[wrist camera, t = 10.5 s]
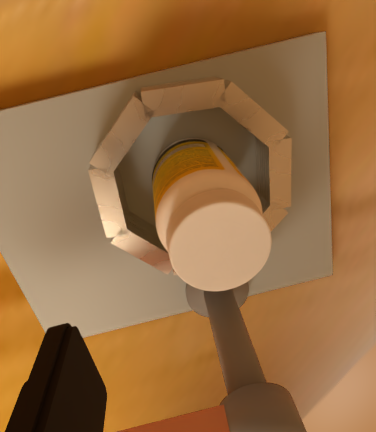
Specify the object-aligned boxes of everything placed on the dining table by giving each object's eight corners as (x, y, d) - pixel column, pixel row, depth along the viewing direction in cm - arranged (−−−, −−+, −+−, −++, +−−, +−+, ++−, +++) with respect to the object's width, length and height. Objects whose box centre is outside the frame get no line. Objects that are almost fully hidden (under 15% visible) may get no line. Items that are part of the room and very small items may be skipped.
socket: (309, 155, 21) (330, 167, 18) (203, 274, 23) (209, 298, 21) (171, 35, 17) (175, 32, 15) (66, 194, 20) (56, 212, 18)
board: (315, 32, 19) (472, 14, 10) (325, 273, 26) (419, 387, 17) (-57, 123, 19) (-244, 189, 10) (60, 339, 26) (15, 490, 17)
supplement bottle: (139, 195, 20) (136, 278, 13) (172, 122, 19) (191, 169, 11) (209, 222, 22) (243, 312, 14) (245, 156, 20) (306, 219, 13)
